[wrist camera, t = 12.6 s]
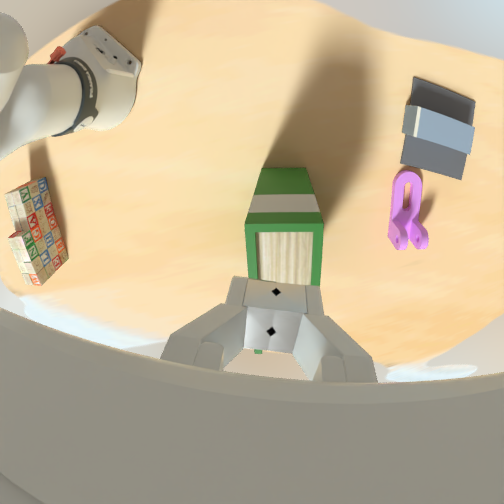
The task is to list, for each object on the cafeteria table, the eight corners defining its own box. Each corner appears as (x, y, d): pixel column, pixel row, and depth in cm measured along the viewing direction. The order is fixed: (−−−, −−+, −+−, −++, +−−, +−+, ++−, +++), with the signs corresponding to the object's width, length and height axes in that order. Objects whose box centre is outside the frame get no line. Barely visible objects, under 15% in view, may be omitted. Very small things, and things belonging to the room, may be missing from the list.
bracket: (412, 235, 52) (426, 252, 46) (387, 236, 52) (399, 253, 46) (420, 170, 45) (437, 181, 39) (393, 169, 46) (407, 179, 40)
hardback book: (304, 259, 56) (312, 353, 35) (266, 259, 57) (254, 353, 36) (305, 167, 48) (323, 223, 27) (261, 168, 49) (244, 224, 28)
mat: (400, 163, 45) (401, 163, 45) (413, 77, 38) (414, 77, 37) (460, 179, 45) (461, 180, 44) (474, 101, 37) (475, 101, 37)
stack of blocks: (30, 180, 53) (-5, 198, 43) (46, 176, 53) (9, 195, 42) (53, 258, 64) (25, 285, 53) (69, 259, 63) (41, 286, 52)
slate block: (413, 136, 38) (469, 154, 37) (417, 106, 35) (474, 127, 35) (401, 132, 42) (455, 149, 42) (405, 105, 40) (460, 123, 39)
